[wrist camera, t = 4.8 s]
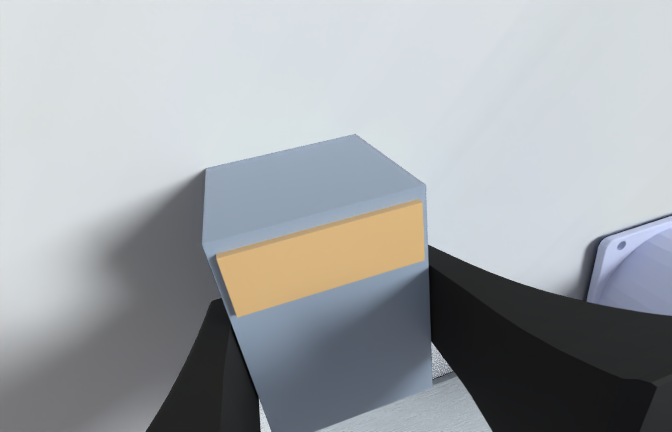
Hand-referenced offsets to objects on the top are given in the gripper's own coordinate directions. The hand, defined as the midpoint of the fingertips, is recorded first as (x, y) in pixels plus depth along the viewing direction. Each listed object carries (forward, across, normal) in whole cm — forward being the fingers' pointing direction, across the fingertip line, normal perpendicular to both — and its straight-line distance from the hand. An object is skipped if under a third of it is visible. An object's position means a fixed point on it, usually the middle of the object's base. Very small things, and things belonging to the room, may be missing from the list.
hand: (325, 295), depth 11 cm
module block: (+3, 0, 0) cm, 3 cm away
